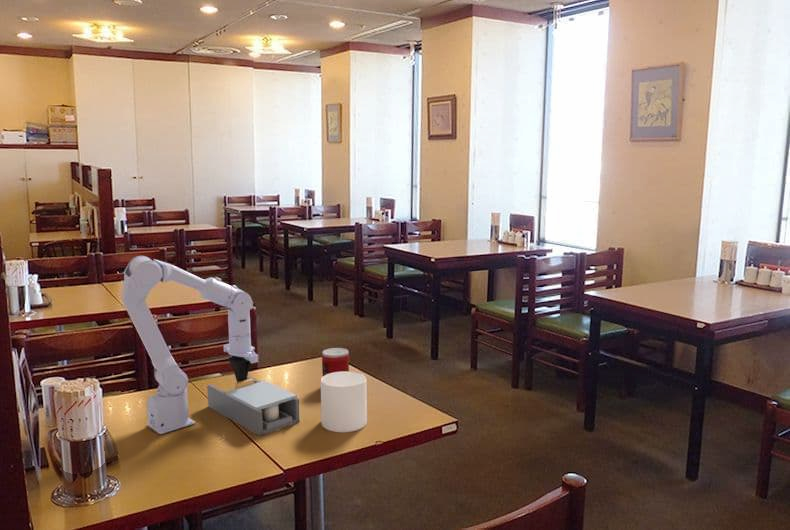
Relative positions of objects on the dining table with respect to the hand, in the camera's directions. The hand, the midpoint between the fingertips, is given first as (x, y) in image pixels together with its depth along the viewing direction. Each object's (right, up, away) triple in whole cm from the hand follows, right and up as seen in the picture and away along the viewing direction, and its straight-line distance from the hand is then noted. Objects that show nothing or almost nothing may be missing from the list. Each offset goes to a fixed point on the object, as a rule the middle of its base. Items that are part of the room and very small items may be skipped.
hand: (241, 382), depth 172 cm
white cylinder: (+28, -9, -8) cm, 31 cm away
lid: (+6, -2, -6) cm, 9 cm away
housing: (+3, -8, -2) cm, 9 cm away
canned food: (+24, -5, +18) cm, 30 cm away
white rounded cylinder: (+10, -8, -9) cm, 16 cm away
